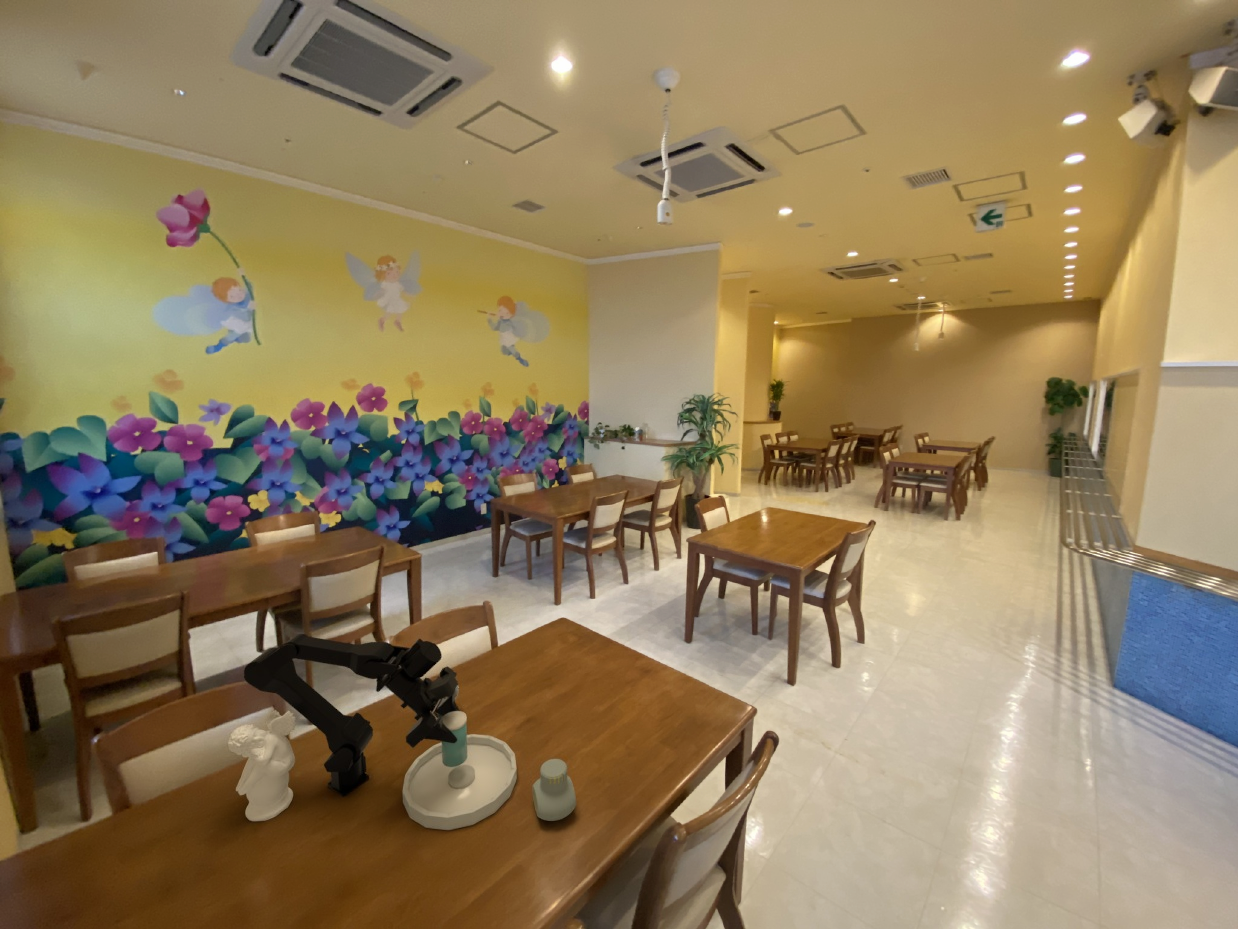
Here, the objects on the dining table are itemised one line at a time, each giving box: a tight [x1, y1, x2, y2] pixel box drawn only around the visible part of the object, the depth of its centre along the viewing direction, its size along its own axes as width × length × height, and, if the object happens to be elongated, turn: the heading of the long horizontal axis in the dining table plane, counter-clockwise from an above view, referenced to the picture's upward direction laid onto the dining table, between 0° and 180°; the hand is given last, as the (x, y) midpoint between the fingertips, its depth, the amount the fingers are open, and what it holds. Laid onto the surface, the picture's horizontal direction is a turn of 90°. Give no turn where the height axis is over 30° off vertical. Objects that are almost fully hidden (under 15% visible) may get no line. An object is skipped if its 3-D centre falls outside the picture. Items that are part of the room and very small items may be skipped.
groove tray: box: [402, 733, 518, 831], centre depth 116 cm, size 25×25×3 cm
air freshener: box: [531, 758, 577, 822], centre depth 109 cm, size 11×8×10 cm
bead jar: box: [440, 710, 468, 767], centre depth 115 cm, size 6×6×10 cm
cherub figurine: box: [227, 709, 296, 822], centre depth 109 cm, size 12×12×22 cm
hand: (460, 732), depth 114 cm, fingers closed on bead jar, 6 cm apart
